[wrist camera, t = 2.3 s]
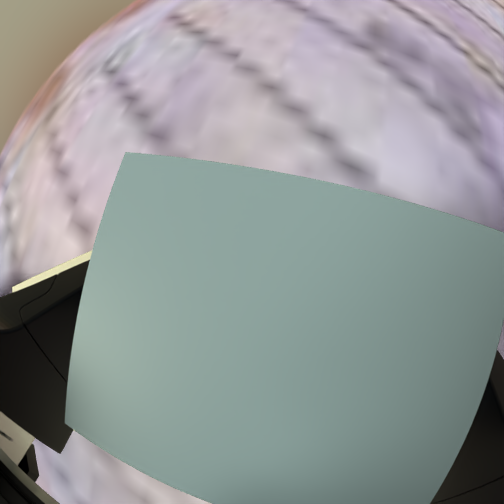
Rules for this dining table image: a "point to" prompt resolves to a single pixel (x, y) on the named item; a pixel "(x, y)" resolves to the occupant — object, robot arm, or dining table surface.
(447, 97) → the dining table surface
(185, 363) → the blue brick
